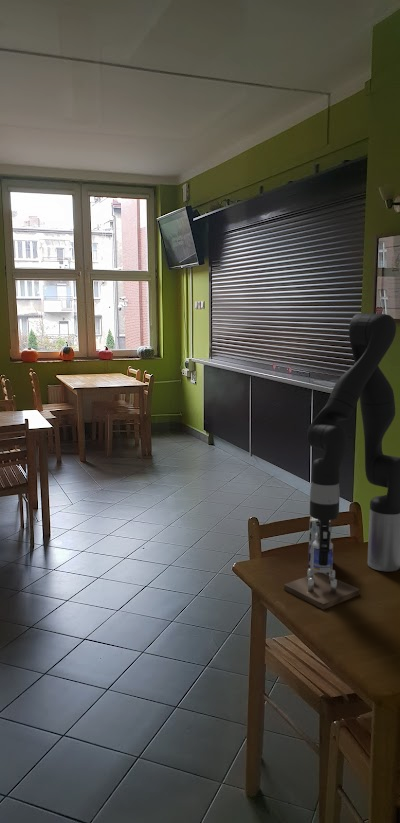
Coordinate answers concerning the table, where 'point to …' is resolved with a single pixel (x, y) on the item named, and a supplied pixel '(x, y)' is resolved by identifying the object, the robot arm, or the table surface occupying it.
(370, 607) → the table surface
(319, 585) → the peg board
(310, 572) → the steel pegs
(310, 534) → the candy box
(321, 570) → the pill bottle
